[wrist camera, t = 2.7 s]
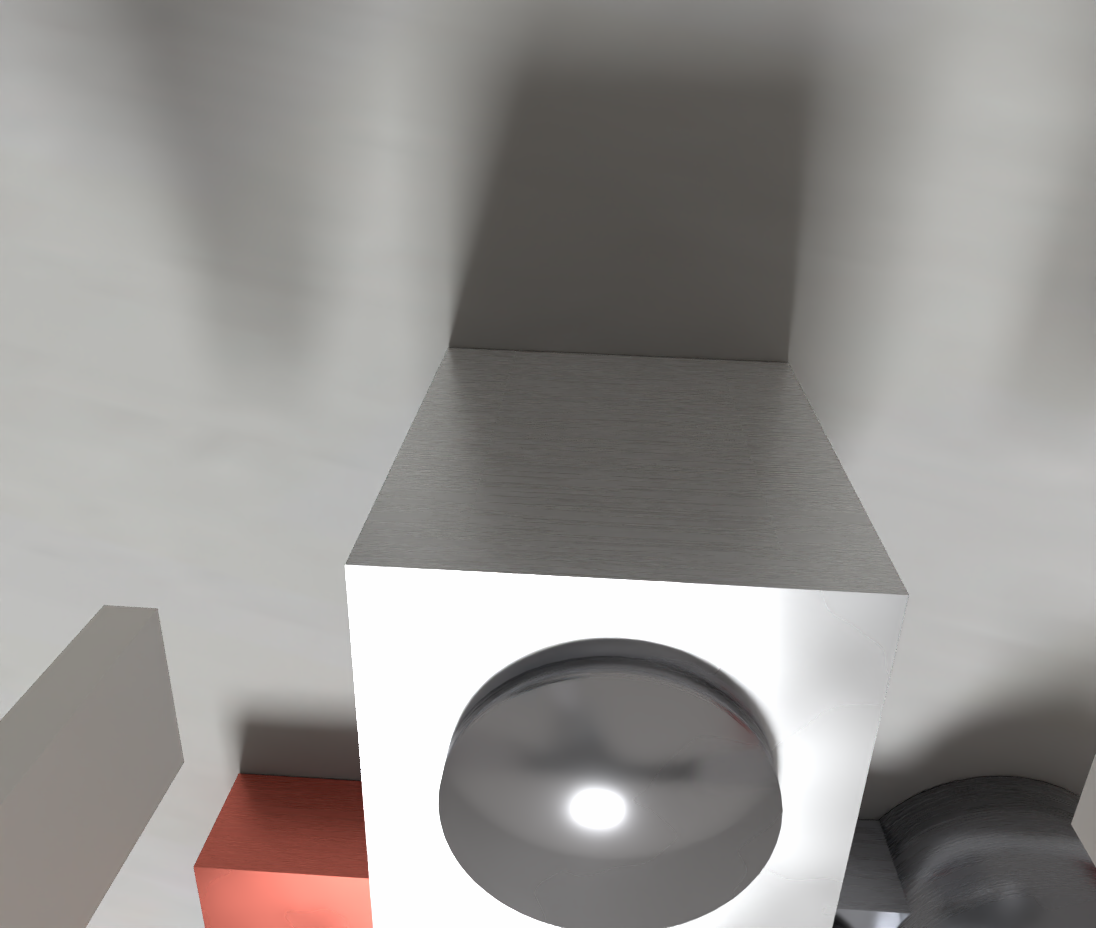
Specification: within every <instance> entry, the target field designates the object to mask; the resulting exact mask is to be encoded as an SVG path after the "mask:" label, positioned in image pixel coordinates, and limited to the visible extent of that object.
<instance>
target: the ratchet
mask: <svg viewBox="0 0 1096 928" xmlns="http://www.w3.org/2000/svg"><path fill="white" fill-rule="evenodd" d="M1079 800H1080V797H1078V796H1077V795H1075V794H1073V793H1071V792H1069V791H1067V790H1065V789H1063V788H1061V787H1058V786H1055V785H1052V784H1049V783H1046V782H1042V781H1037V780H1033V779H1027V778H1018V777H981V778H972V779H966V780H961V781H956V782H952V783H948V784H945V785H941V786H938V787H935V788H933V789H930V790H927V791H925V792H922V793H920V794H918V795H916V796H914V797H912V798H910V799H908V800H906V801H905V802H903V803H902V804H900V805H899V806H897V807H895V808H894V809H892V810H891V811H890V812H889V813H887V814H886V815H885V816H884V817H883V818H881V819H880V820H863V819H857V823H856V827H855V831H854V836H853V840H852V844H851V848H850V853H849V857H848V861H847V866H846V870H845V874H844V879H843V883H842V887H841V892H840V896H839V900H838V905H837V909H836V913H835V918H834V922H833V926H832V928H1096V867H1095V865H1094V863H1093V862H1092V860H1091V858H1090V856H1089V855H1088V853H1087V851H1086V849H1085V848H1084V846H1083V844H1082V842H1081V841H1080V839H1079V837H1078V836H1077V834H1076V832H1075V830H1074V829H1073V827H1072V825H1071V823H1072V820H1073V817H1074V814H1075V811H1076V808H1077V805H1078V803H1079ZM194 872H195V877H196V882H197V888H198V893H199V898H200V903H201V909H202V914H203V919H204V924H205V928H373V917H372V904H371V891H370V878H369V866H368V853H367V840H366V827H365V814H364V802H363V789H362V781H349V780H333V779H317V778H301V777H285V776H269V775H253V774H238V776H237V778H236V780H235V782H234V785H233V787H232V789H231V791H230V793H229V795H228V797H227V799H226V801H225V803H224V805H223V807H222V809H221V811H220V813H219V815H218V818H217V820H216V822H215V824H214V826H213V828H212V830H211V832H210V834H209V836H208V838H207V840H206V842H205V844H204V846H203V849H202V851H201V853H200V855H199V857H198V859H197V861H196V863H195V865H194Z"/></svg>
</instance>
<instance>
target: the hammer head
mask: <svg viewBox="0 0 1096 928" xmlns="http://www.w3.org/2000/svg"><path fill="white" fill-rule="evenodd" d="M345 571H346V584H347V597H348V610H349V622H350V635H351V648H352V661H353V674H354V686H355V699H356V712H357V725H358V738H359V750H360V763H361V776H362V789H363V802H364V814H365V827H366V840H367V853H368V866H369V878H370V891H371V904H372V917H373V928H832V926H833V922H834V918H835V913H836V909H837V905H838V900H839V896H840V892H841V887H842V883H843V879H844V874H845V870H846V866H847V861H848V857H849V853H850V848H851V844H852V840H853V836H854V831H855V827H856V823H857V818H858V814H859V810H860V805H861V801H862V797H863V792H864V788H865V784H866V779H867V775H868V771H869V766H870V762H871V758H872V753H873V749H874V745H875V740H876V736H877V732H878V727H879V723H880V719H881V714H882V710H883V706H884V701H885V697H886V693H887V688H888V684H889V680H890V675H891V671H892V667H893V662H894V658H895V654H896V650H897V645H898V641H899V637H900V632H901V628H902V624H903V619H904V615H905V611H906V606H907V602H908V598H909V594H908V592H907V590H906V588H905V586H904V584H903V583H902V581H901V579H900V577H899V575H898V573H897V571H896V569H895V567H894V565H893V563H892V561H891V559H890V558H889V556H888V554H887V552H886V550H885V548H884V546H883V544H882V542H881V540H880V538H879V536H878V534H877V533H876V531H875V529H874V527H873V525H872V523H871V521H870V519H869V517H868V515H867V513H866V511H865V509H864V508H863V506H862V504H861V502H860V500H859V498H858V496H857V494H856V492H855V490H854V488H853V486H852V484H851V483H850V481H849V479H848V477H847V475H846V473H845V471H844V469H843V467H842V465H841V463H840V461H839V459H838V458H837V456H836V454H835V452H834V450H833V448H832V446H831V444H830V442H829V440H828V438H827V436H826V434H825V433H824V431H823V429H822V427H821V425H820V423H819V421H818V419H817V417H816V415H815V413H814V411H813V409H812V408H811V406H810V404H809V402H808V400H807V398H806V396H805V394H804V392H803V390H802V388H801V386H800V384H799V383H798V381H797V379H796V377H795V375H794V373H793V371H792V369H791V367H790V365H789V363H779V362H757V361H734V360H712V359H689V358H667V357H644V356H621V355H599V354H576V353H554V352H531V351H509V350H486V349H464V348H448V349H447V351H446V353H445V355H444V358H443V360H442V362H441V364H440V366H439V368H438V370H437V372H436V374H435V376H434V379H433V381H432V383H431V385H430V387H429V389H428V391H427V393H426V395H425V398H424V400H423V402H422V404H421V406H420V408H419V410H418V412H417V414H416V416H415V419H414V421H413V423H412V425H411V427H410V429H409V431H408V433H407V435H406V438H405V440H404V442H403V444H402V446H401V448H400V450H399V452H398V454H397V456H396V459H395V461H394V463H393V465H392V467H391V469H390V471H389V473H388V475H387V478H386V480H385V482H384V484H383V486H382V488H381V490H380V492H379V494H378V496H377V499H376V501H375V503H374V505H373V507H372V509H371V511H370V513H369V515H368V518H367V520H366V522H365V524H364V526H363V528H362V530H361V532H360V534H359V536H358V539H357V541H356V543H355V545H354V547H353V549H352V551H351V553H350V555H349V558H348V560H347V562H346V564H345Z"/></svg>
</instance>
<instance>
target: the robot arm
mask: <svg viewBox="0 0 1096 928" xmlns="http://www.w3.org/2000/svg"><path fill="white" fill-rule="evenodd" d="M183 763H184V759H183V753H182V747H181V741H180V735H179V730H178V724H177V718H176V712H175V706H174V701H173V695H172V689H171V683H170V677H169V672H168V666H167V660H166V654H165V649H164V643H163V637H162V631H161V625H160V620H159V614H158V609H157V608H141V607H125V606H109V605H104V606H103V607H102V608H101V609H100V610H99V611H98V612H97V614H96V615H95V616H94V617H93V618H92V619H91V620H90V621H89V622H88V624H87V625H86V626H85V627H84V628H83V629H82V630H81V631H80V633H79V634H78V635H77V636H76V637H75V638H74V639H73V640H72V641H71V643H70V644H69V645H68V646H67V647H66V648H65V649H64V650H63V651H62V653H61V654H60V655H59V656H58V657H57V658H56V659H55V660H54V661H53V663H52V664H51V665H50V666H49V667H48V668H47V669H46V670H45V672H44V673H43V674H42V675H41V676H40V677H39V678H38V679H37V680H36V682H35V683H34V684H33V685H32V686H31V687H30V688H29V689H28V690H27V692H26V693H25V694H24V695H23V696H22V697H21V698H20V699H19V700H18V702H17V703H16V704H15V705H14V706H13V707H12V708H11V709H10V711H9V712H8V713H7V714H6V715H5V716H4V717H3V718H2V719H1V721H0V928H86V926H87V925H88V923H89V921H90V919H91V918H92V916H93V914H94V913H95V911H96V909H97V908H98V906H99V904H100V903H101V901H102V899H103V898H104V896H105V894H106V893H107V891H108V889H109V888H110V886H111V884H112V882H113V881H114V879H115V877H116V876H117V874H118V872H119V871H120V869H121V867H122V866H123V864H124V862H125V861H126V859H127V857H128V856H129V854H130V852H131V850H132V849H133V847H134V845H135V844H136V842H137V840H138V839H139V837H140V835H141V834H142V832H143V830H144V829H145V827H146V825H147V824H148V822H149V820H150V819H151V817H152V815H153V813H154V812H155V810H156V808H157V807H158V805H159V803H160V802H161V800H162V798H163V797H164V795H165V793H166V792H167V790H168V788H169V787H170V785H171V783H172V781H173V780H174V778H175V776H176V775H177V773H178V771H179V770H180V768H181V766H182V765H183ZM1071 825H1072V827H1073V829H1074V830H1075V832H1076V834H1077V836H1078V837H1079V839H1080V841H1081V842H1082V844H1083V846H1084V848H1085V849H1086V851H1087V853H1088V855H1089V856H1090V858H1091V860H1092V862H1093V863H1094V865H1095V867H1096V754H1095V757H1094V760H1093V763H1092V765H1091V768H1090V771H1089V774H1088V777H1087V780H1086V783H1085V785H1084V788H1083V791H1082V794H1081V797H1080V800H1079V803H1078V805H1077V808H1076V811H1075V814H1074V817H1073V820H1072V823H1071Z"/></svg>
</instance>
